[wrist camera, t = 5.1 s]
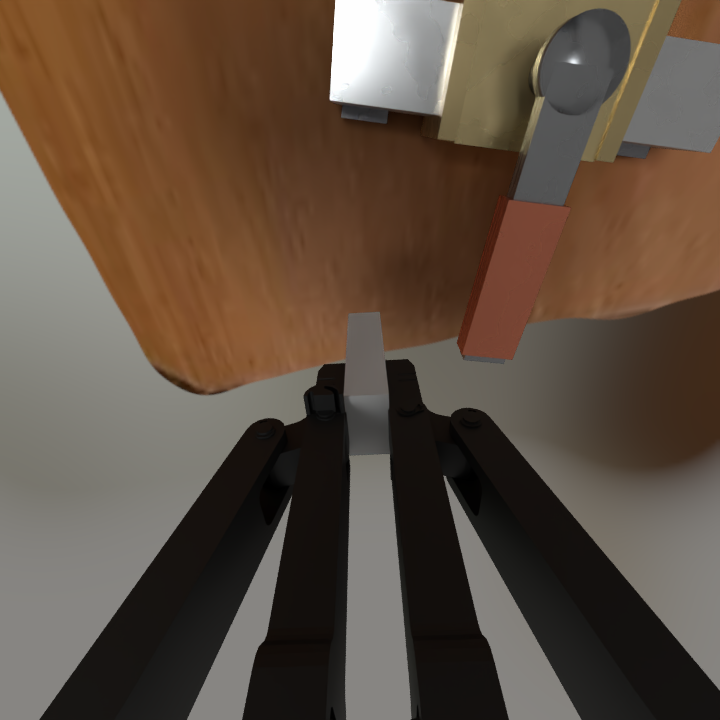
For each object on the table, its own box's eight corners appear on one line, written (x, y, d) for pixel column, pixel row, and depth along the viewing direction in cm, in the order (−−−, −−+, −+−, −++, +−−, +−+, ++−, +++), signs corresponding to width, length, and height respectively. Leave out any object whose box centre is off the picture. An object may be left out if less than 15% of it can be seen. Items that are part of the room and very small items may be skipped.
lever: (548, 9, 16) (564, 0, 15) (628, 22, 16) (651, 14, 15) (451, 349, 25) (456, 361, 24) (504, 354, 25) (512, 366, 24)
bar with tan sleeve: (334, 125, 27) (323, 126, 18) (343, -10, 23) (334, -83, 15) (630, 165, 28) (743, 182, 20) (684, 43, 24) (849, 3, 16)
